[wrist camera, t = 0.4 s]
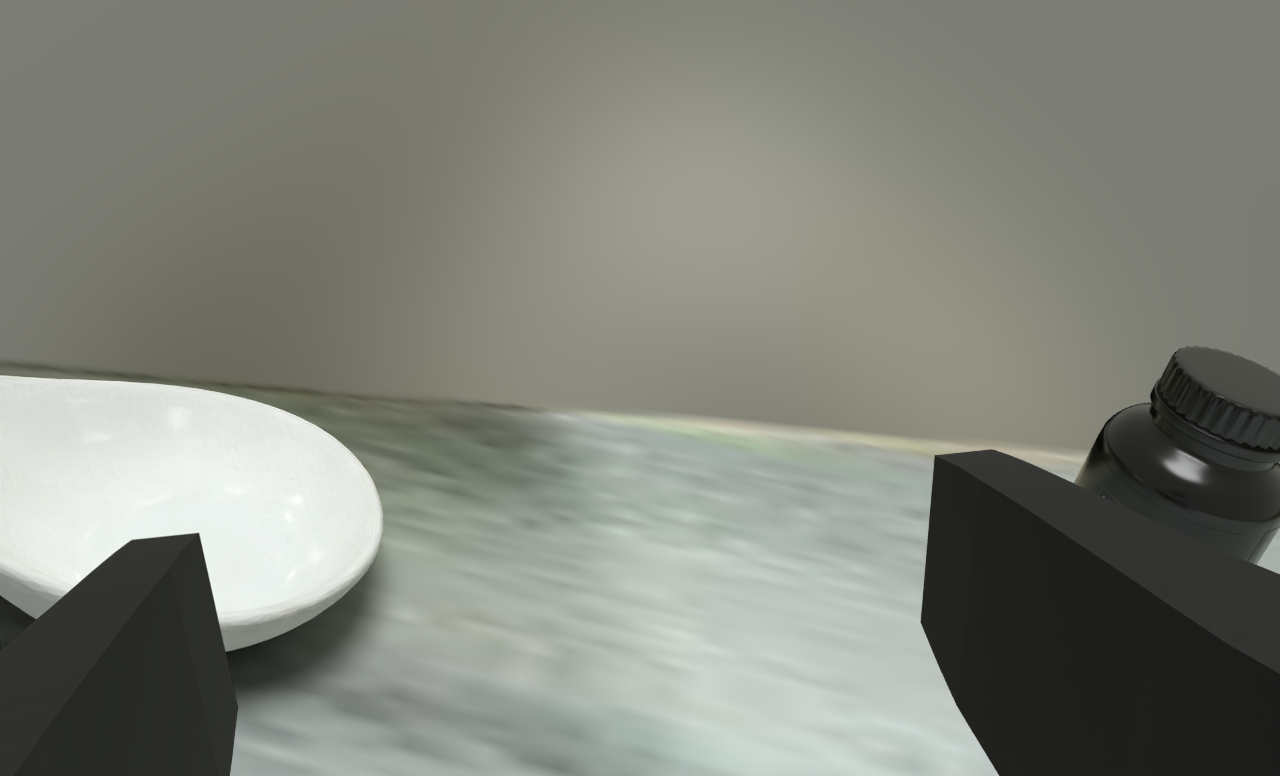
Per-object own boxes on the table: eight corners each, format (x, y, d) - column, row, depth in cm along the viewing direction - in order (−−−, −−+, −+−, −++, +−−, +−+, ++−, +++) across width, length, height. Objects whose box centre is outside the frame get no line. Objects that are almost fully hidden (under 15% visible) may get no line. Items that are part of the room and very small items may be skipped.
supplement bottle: (1050, 553, 50) (1177, 313, 44) (1203, 643, 47) (1362, 398, 41) (988, 619, 45) (1123, 357, 39) (1156, 725, 42) (1329, 459, 36)
